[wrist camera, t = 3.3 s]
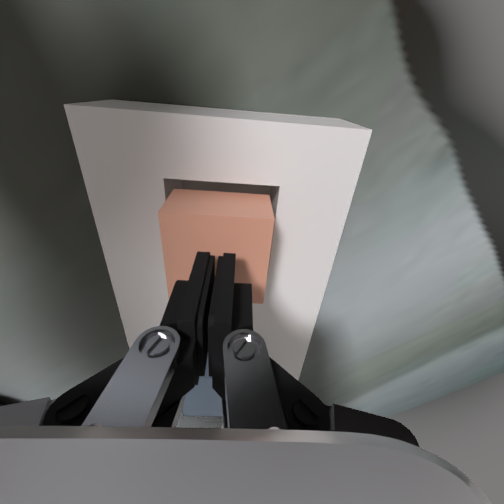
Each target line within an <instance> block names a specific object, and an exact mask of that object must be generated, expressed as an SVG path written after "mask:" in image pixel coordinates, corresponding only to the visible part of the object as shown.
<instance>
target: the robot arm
mask: <svg viewBox="0 0 504 504" xmlns="http://www.w3.org/2000/svg"><path fill="white" fill-rule="evenodd" d="M235 260H236V253H223V256H218V262H217V268H216V274H215V256H213V255H210V252H200V251H198V252H197V254H196V257H195V261H194V264H193V267H192V270H191V274H190V277H189V280H177V281H176V282H175V285H174V287H173V290H172V293H171V296H170V298H169V301H168V304H167V307H166V309H165V312H164V315H163V317H162V320H161V323H160V326H156V327H152V328H150V329H147V330H146V331H144V332H143V333H141V334H140V335H139V336H138V338H137V339H136V340H135V342H134V343H133V345H132V346H131V348H130V350H129V351H128V353H127V354H126V356H125V357H124V358H122V359H121V360H119V361H117V362H116V363H114V364H112V365H111V366H109V367H107V368H106V369H104V370H102V371H100V372H99V373H97V374H95V375H94V376H92V377H90V378H89V379H87V380H85V381H84V382H82V383H80V384H78V385H77V386H75V387H73V388H72V389H70V390H68V391H67V392H65V393H64V394H62V395H61V396H60V397H58V398H57V399H55V400H51V399H50V398H49V397H47V398H42V399H36V400H31V401H26V402H20V403H15V404H10V405H4V406H0V504H492V503H491V502H490V501H489V499H488V498H487V497H486V496H485V495H484V493H483V492H482V491H481V490H480V489H479V487H478V486H477V485H476V484H475V483H474V482H473V481H472V480H471V479H470V478H469V477H468V476H466V474H464V473H463V472H462V471H460V470H459V469H458V468H457V467H455V466H453V465H452V464H451V463H449V462H447V461H446V460H444V459H442V458H440V457H439V456H437V455H435V454H433V453H431V452H429V451H427V450H425V449H423V448H421V447H420V446H419V444H418V442H417V439H416V437H415V436H414V435H413V434H412V432H411V431H410V430H409V429H408V428H407V427H406V426H404V425H403V424H402V423H400V422H398V421H396V420H393V419H390V418H386V417H383V416H379V415H375V414H371V413H368V412H364V411H360V410H356V409H352V408H349V407H345V406H341V405H337V404H333V406H329V405H325V404H323V402H322V401H321V400H320V399H319V398H318V397H317V396H315V395H314V394H313V393H312V392H311V391H310V390H308V389H307V388H306V387H305V386H304V385H302V384H301V383H300V382H299V381H298V380H297V379H295V378H294V377H293V376H292V375H291V374H289V373H288V372H287V371H286V370H285V369H284V368H282V367H281V366H280V365H279V364H278V363H276V362H275V361H274V360H273V359H272V358H270V357H269V354H268V351H267V347H266V343H265V341H264V339H263V338H262V337H261V335H260V334H258V333H256V332H255V331H253V310H252V284H250V283H234V279H235ZM207 356H208V368H209V377H212V388H213V389H214V390H215V391H216V393H217V394H218V395H219V396H220V397H221V405H222V419H223V428H176V425H177V422H178V419H179V416H180V413H181V410H182V407H183V405H184V402H185V397H186V394H187V393H188V392H189V391H190V390H192V389H193V388H194V387H195V385H198V382H199V376H205V370H206V363H207Z"/></svg>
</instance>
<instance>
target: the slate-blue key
mask: <svg viewBox="0 0 504 504" xmlns="http://www.w3.org/2000/svg"><path fill="white" fill-rule="evenodd" d="M182 409H183V416H222V405H221V397H220V396H219V395H218V394H217V393H216V391H215V390H214V389H213V388H212V377H209V368H208V356H207V363H206V370H205V376H199V382H198V385H195V387H194V388H193V389H192V390H190V391H189V392H188V393H187V394H186V397H185V402H184V405H183V407H182Z"/></svg>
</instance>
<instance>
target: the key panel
mask: <svg viewBox="0 0 504 504" xmlns="http://www.w3.org/2000/svg"><path fill="white" fill-rule="evenodd" d="M64 108H65V112H66V116H67V119H68V123H69V127H70V130H71V134H72V138H73V142H74V145H75V149H76V153H77V156H78V160H79V164H80V168H81V171H82V175H83V179H84V182H85V186H86V190H87V194H88V197H89V201H90V205H91V208H92V212H93V216H94V219H95V223H96V227H97V231H98V234H99V238H100V242H101V245H102V249H103V253H104V257H105V260H106V264H107V268H108V271H109V275H110V279H111V283H112V286H113V290H114V294H115V297H116V301H117V305H118V309H119V312H120V316H121V320H122V323H123V327H124V331H125V335H126V338H127V342H128V346H129V349H130V348H131V346H132V345H133V343H134V342H135V340H136V339H137V338H138V336H139V335H140V334H141V333H143V332H144V331H146V330H147V329H150V328H152V327H156V326H160V323H161V320H162V317H163V315H164V312H165V309H166V307H167V304H168V301H169V297H168V289H167V281H166V273H165V265H164V257H163V250H162V242H161V234H160V226H159V218H158V211H159V210H160V208H161V207H162V205H163V204H164V202H165V201H166V199H167V198H168V197H169V195H170V194H171V192H172V191H173V189H188V190H203V191H218V192H233V193H249V194H264V195H269V196H270V200H271V205H272V209H273V214H274V218H275V221H274V228H273V236H272V243H271V250H270V258H269V265H268V273H267V280H266V287H265V295H264V302H263V304H258V303H252V310H253V331H255V332H256V333H258V334H260V335H261V337H262V338H263V339H264V341H265V343H266V347H267V351H268V354H269V357H270V358H272V359H273V360H274V361H275V362H276V363H278V364H279V365H280V366H281V367H282V368H284V369H285V370H286V371H287V372H288V373H289V374H291V375H292V376H293V377H294V378H295V379H297V380H299V377H300V374H301V370H302V367H303V363H304V360H305V357H306V353H307V350H308V346H309V343H310V340H311V336H312V333H313V329H314V326H315V323H316V319H317V316H318V313H319V309H320V306H321V302H322V299H323V296H324V292H325V289H326V285H327V282H328V279H329V275H330V272H331V268H332V265H333V262H334V258H335V255H336V252H337V248H338V245H339V241H340V238H341V235H342V231H343V228H344V224H345V221H346V218H347V214H348V211H349V207H350V204H351V201H352V197H353V194H354V191H355V187H356V184H357V180H358V177H359V174H360V170H361V167H362V163H363V160H364V157H365V153H366V150H367V146H368V143H369V140H370V136H371V133H372V130H371V129H368V128H365V127H362V126H360V125H357V124H354V123H351V122H348V121H345V120H342V119H337V118H325V117H314V116H302V115H290V114H278V113H267V112H255V111H243V110H231V109H220V108H208V107H196V106H184V105H173V104H161V103H149V102H137V101H126V100H114V99H111V100H101V101H91V102H81V103H71V104H64Z"/></svg>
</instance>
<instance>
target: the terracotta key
mask: <svg viewBox="0 0 504 504" xmlns="http://www.w3.org/2000/svg"><path fill="white" fill-rule="evenodd" d="M158 218H159V226H160V234H161V242H162V250H163V257H164V265H165V273H166V281H167V289H168V297H169V298H170V296H171V293H172V290H173V287H174V285H175V282H176V281H177V280H189V277H190V274H191V270H192V267H193V264H194V261H195V257H196V254H197V252H198V251H200V252H210V255H213V256H215V274H216V268H217V262H218V256H223V253H236V260H235V279H234V283H250V284H252V303H258V304H263V302H264V295H265V287H266V280H267V273H268V265H269V258H270V250H271V243H272V236H273V228H274V221H275V218H274V214H273V209H272V205H271V200H270V196H269V195H264V194H249V193H233V192H218V191H203V190H188V189H173V191H172V192H171V194H170V195H169V197H168V198H167V199H166V201H165V202H164V204H163V205H162V207H161V208H160V210H159V211H158Z"/></svg>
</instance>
